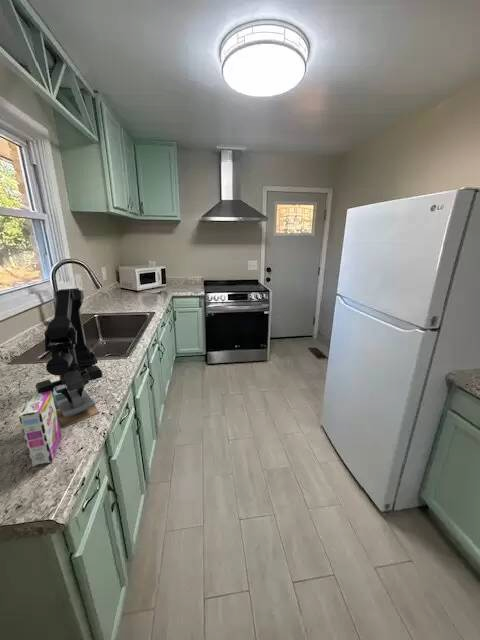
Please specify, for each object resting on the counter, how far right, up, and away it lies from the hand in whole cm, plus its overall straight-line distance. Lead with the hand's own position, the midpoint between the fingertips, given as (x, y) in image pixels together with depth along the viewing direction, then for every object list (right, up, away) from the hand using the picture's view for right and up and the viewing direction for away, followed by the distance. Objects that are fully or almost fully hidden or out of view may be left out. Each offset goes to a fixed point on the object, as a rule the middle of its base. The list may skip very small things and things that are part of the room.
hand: (75, 401), depth 93 cm
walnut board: (0, -4, +1) cm, 4 cm away
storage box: (-8, -1, +9) cm, 13 cm away
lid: (0, -2, +1) cm, 2 cm away
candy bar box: (+2, -10, -16) cm, 18 cm away
